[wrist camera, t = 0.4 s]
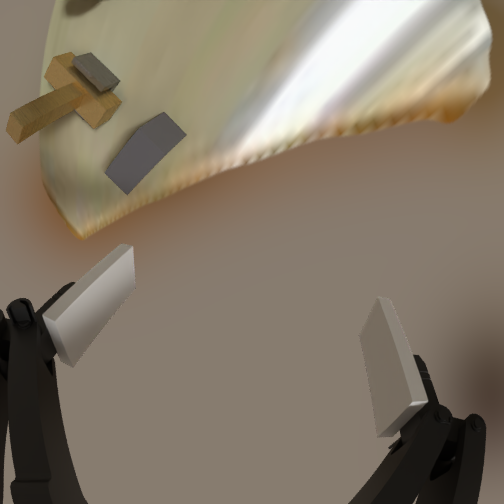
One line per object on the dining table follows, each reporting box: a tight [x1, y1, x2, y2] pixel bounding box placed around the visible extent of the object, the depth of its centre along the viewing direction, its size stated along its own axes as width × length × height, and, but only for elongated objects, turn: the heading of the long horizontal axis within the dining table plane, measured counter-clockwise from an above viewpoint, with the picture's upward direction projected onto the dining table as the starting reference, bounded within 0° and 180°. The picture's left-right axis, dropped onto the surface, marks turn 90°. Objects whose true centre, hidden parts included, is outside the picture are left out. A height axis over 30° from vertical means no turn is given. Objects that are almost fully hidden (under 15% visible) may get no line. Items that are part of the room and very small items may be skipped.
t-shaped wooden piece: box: [6, 52, 122, 144], centre depth 25 cm, size 4×14×16 cm, turn 40°
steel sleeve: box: [71, 53, 120, 120], centre depth 31 cm, size 7×8×4 cm
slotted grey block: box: [105, 112, 186, 195], centre depth 36 cm, size 10×5×7 cm, turn 130°
